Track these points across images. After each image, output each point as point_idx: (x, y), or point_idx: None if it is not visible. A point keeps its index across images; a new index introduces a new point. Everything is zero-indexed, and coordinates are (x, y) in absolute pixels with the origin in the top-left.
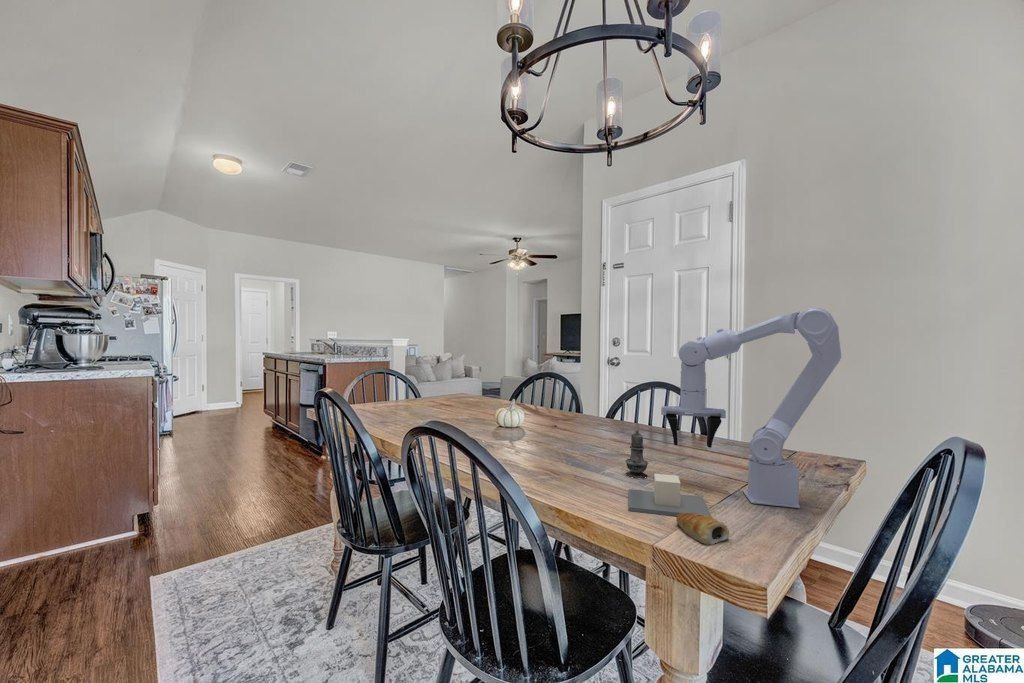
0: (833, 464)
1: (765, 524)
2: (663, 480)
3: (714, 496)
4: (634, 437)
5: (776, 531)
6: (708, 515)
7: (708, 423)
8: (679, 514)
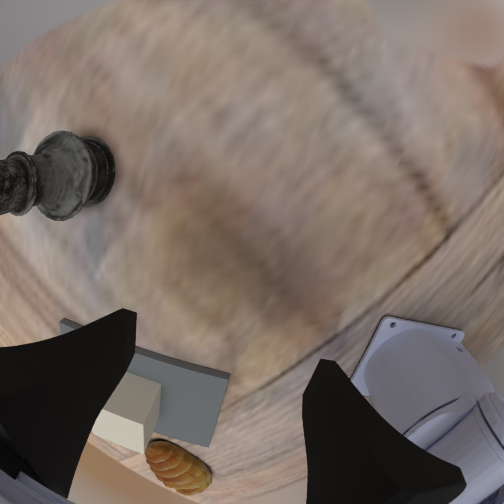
0: None
1: (302, 451)
2: (108, 437)
3: (276, 352)
4: None
5: (302, 463)
6: (204, 445)
7: (342, 496)
8: (147, 455)
